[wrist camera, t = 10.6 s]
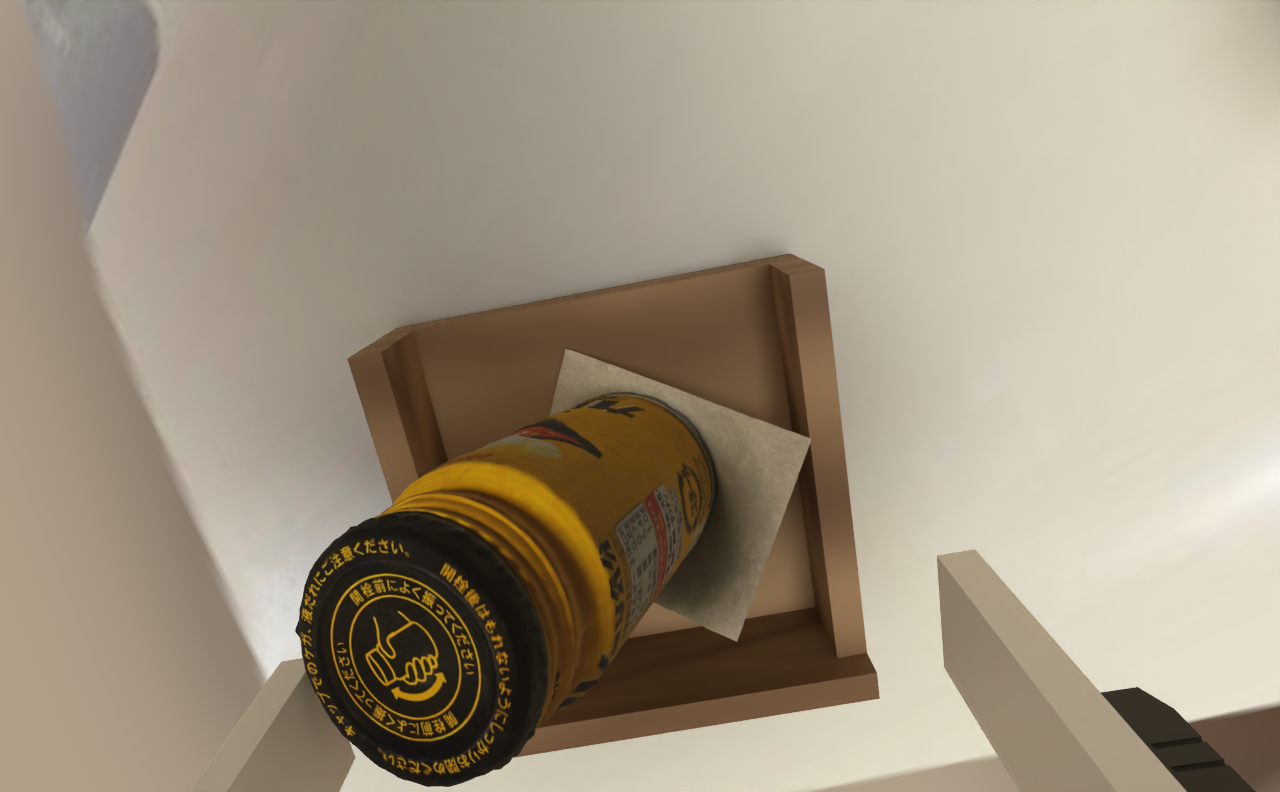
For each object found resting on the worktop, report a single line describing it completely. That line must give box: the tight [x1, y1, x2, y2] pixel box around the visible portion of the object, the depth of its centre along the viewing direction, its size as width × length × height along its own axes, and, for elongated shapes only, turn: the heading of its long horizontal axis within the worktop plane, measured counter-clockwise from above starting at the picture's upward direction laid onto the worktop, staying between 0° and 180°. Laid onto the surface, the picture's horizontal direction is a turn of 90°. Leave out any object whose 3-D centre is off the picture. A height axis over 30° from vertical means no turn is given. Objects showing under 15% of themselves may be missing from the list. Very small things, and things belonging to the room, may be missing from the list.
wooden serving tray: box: [348, 254, 879, 758], centre depth 24 cm, size 14×14×6 cm
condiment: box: [296, 349, 811, 787], centre depth 18 cm, size 7×8×12 cm
